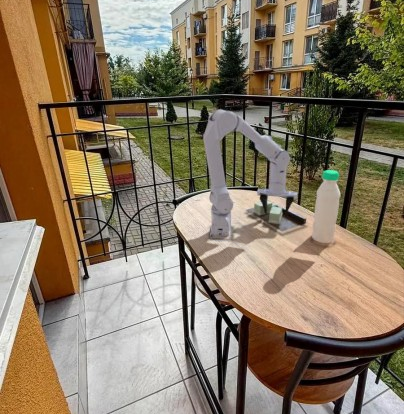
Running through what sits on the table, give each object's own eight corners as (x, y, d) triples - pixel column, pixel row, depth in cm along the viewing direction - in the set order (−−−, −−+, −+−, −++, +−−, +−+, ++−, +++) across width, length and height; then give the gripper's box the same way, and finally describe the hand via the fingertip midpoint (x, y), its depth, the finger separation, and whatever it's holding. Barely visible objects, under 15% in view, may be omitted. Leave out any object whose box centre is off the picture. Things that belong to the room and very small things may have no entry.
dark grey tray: (281, 235, 101) (282, 226, 100) (245, 213, 120) (245, 205, 118) (305, 226, 106) (306, 218, 105) (267, 206, 125) (267, 199, 123)
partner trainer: (259, 215, 113) (259, 206, 112) (253, 212, 117) (253, 203, 115) (276, 210, 117) (277, 201, 116) (270, 207, 121) (270, 198, 119)
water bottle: (335, 247, 92) (346, 175, 84) (313, 245, 94) (321, 174, 85) (331, 236, 99) (340, 168, 90) (309, 235, 100) (317, 168, 91)
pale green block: (279, 224, 106) (280, 214, 105) (268, 222, 107) (269, 213, 106) (282, 214, 114) (282, 205, 112) (272, 213, 115) (272, 204, 114)
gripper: (298, 178, 105) (296, 211, 110) (260, 175, 110) (259, 207, 115) (297, 184, 99) (294, 219, 104) (256, 181, 104) (255, 214, 109)
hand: (275, 213), depth 109 cm, fingers open, 7 cm apart
